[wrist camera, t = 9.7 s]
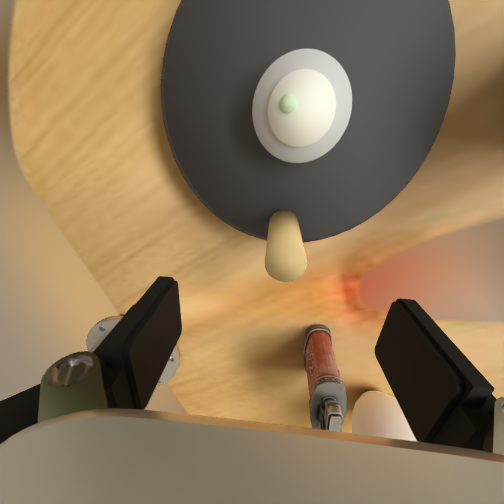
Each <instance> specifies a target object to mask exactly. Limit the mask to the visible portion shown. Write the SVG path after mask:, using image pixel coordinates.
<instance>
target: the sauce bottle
mask: <svg viewBox="0 0 504 504" xmlns="http://www.w3.org/2000/svg"><path fill="white" fill-rule="evenodd" d="M352 433H353V434H361V435H369V436H377V437H385V438H393V439H401V440H409V441H417V440H416V438H415V437H414V435H413V433H412V430H411V428H410V426H409V424H408V422H407V420H406V418H405V416H404V414H403V412H402V410H401V408H400V406H399V403H398V401H397V399H395V398H394V397H392V396H390V395H387V394H385V393H383V392H380V391H367V392H365V393H363V394H362V395H361V396H360V398H359V399H358V400H357V401H356V403H355V406H354V409H353V415H352ZM417 442H418V441H417Z"/></svg>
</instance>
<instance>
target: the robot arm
mask: <svg viewBox="0 0 504 504" xmlns="http://www.w3.org/2000/svg"><path fill="white" fill-rule="evenodd" d="M181 331H182V325H181V313H180V302H179V290H178V282H177V281H174V279H173V278H172V277H162V276H160V277H158V278H157V279H156V281H155V282H154V283H153V284H152V285H151V287H150V288H149V289H148V290H147V291H146V293H145V294H144V295H143V296H142V297H141V298H140V300H139V301H138V302H137V303H136V304H135V305H133V306H132V307H131V308H130V309H129V310H128V312H127V313H126V314H125V315H124V316H112V317H108V318H105V319H103V320H101V321H99V322H98V323H97V324H96V325H95V326H94V327H93V328H92V329H91V330H90V332H89V334H88V336H87V348H88V351H84V352H77V353H73V354H70V355H68V356H65V357H63V358H61V359H60V360H58V361H57V362H55V363H54V364H53V365H52V366H51V367H49V368H48V369H47V371H46V372H45V374H44V375H43V377H42V380H41V384H39V385H36V386H34V387H32V388H30V389H27V390H25V391H23V392H20V393H18V394H16V395H14V396H11V397H9V398H7V399H5V400H2V401H0V504H504V397H500V398H498V399H496V398H495V397H494V396H493V395H492V392H493V391H494V387H493V386H492V385H491V384H490V383H489V382H488V381H487V380H486V379H485V377H484V376H483V375H482V374H481V373H480V372H479V371H478V370H477V369H476V368H475V366H474V365H473V364H472V363H471V362H470V361H469V360H468V359H467V358H466V356H465V355H464V354H463V353H462V352H461V351H460V350H459V349H458V348H457V346H456V345H455V344H454V343H453V342H452V341H451V340H450V339H449V338H448V336H447V335H446V334H445V333H444V332H443V331H442V330H441V329H440V328H439V326H438V325H437V324H436V323H435V322H434V321H433V320H432V319H431V318H430V317H429V315H428V314H427V313H426V312H425V311H424V310H423V309H422V308H421V307H420V305H419V304H418V303H417V302H416V301H415V300H409V299H397V300H396V302H393V303H392V304H391V307H390V309H389V312H388V315H387V317H386V320H385V323H384V325H383V328H382V330H381V333H380V336H379V338H378V341H377V344H376V346H375V355H376V358H377V360H378V362H379V364H380V366H381V368H382V370H383V372H384V374H385V377H386V379H387V381H388V383H389V385H390V387H391V389H392V391H393V393H394V395H395V397H396V399H397V401H398V403H399V406H400V408H401V410H402V412H403V414H404V416H405V418H406V420H407V422H408V424H409V426H410V428H411V430H412V433H413V435H414V437H415V438H416V440H417V441H418V442H417V441H409V440H401V439H393V438H385V437H377V436H369V435H361V434H353V433H345V432H336V431H328V430H320V429H311V428H303V427H295V426H286V425H278V424H269V423H261V422H252V421H244V420H235V419H226V418H217V417H208V416H200V415H191V414H182V413H171V412H160V411H150V410H146V408H147V406H148V404H149V402H150V400H151V398H152V396H153V393H154V392H155V389H156V387H157V386H158V385H162V384H164V383H166V382H168V381H169V380H171V379H172V378H173V377H174V375H175V374H176V372H177V370H178V367H179V364H180V355H179V351H178V349H177V347H176V344H177V341H178V339H179V337H180V335H181Z"/></svg>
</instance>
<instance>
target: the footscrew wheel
mask: <svg viewBox="0 0 504 504" xmlns="http://www.w3.org/2000/svg"><path fill="white" fill-rule="evenodd" d="M454 66H455V35H454V25H453V20H452V14H451V9H450V4H449V1H448V0H184V1H183V3H182V5H181V8H180V10H179V12H178V14H177V17H176V20H175V24H174V27H173V30H172V33H171V37H170V41H169V46H168V51H167V56H166V62H165V75H164V105H165V112H166V120H167V126H168V130H169V134H170V138H171V142H172V145H173V147H174V150H175V153H176V156H177V158H178V161H179V163H180V165H181V167H182V169H183V171H184V173H185V175H186V176H187V178H188V179H189V181H190V182H191V184H192V186H193V187H194V189H195V190H196V191H197V192H198V194H199V195H200V196H201V197H202V198H203V200H204V201H205V202H206V203H207V204H208V205H209V206H210V207H211V208H212V209H213V210H215V211H216V212H217V213H218V214H219V215H221V216H222V217H223V218H225V219H226V220H227V221H229V222H231V223H233V224H234V225H236V226H238V227H239V228H241V229H244V230H246V231H248V232H251V233H253V234H256V235H260V236H263V237H267V247H266V257H265V268H266V270H267V272H268V274H269V275H270V276H271V277H273V278H274V279H276V280H279V281H283V282H289V281H293V280H296V279H298V278H299V277H301V276H302V275H303V273H304V272H305V270H306V267H307V259H306V255H305V250H304V246H303V241H302V240H310V239H316V238H321V237H326V236H329V235H332V234H335V233H338V232H341V231H343V230H346V229H348V228H350V227H352V226H355V225H356V224H358V223H360V222H362V221H363V220H365V219H367V218H369V217H370V216H371V215H373V214H374V213H376V212H377V211H378V210H380V209H381V208H382V207H384V206H385V205H386V204H387V203H388V202H389V201H390V200H391V199H393V198H394V197H395V196H396V195H397V194H398V193H399V192H400V191H401V190H402V188H403V187H404V186H405V185H406V184H407V183H408V182H409V181H410V179H411V178H412V177H413V175H414V174H415V173H416V171H417V170H418V168H419V167H420V166H421V164H422V163H423V161H424V159H425V158H426V156H427V154H428V152H429V151H430V149H431V147H432V145H433V143H434V141H435V139H436V136H437V134H438V132H439V130H440V127H441V125H442V122H443V119H444V116H445V113H446V110H447V106H448V103H449V99H450V94H451V89H452V84H453V79H454Z"/></svg>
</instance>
